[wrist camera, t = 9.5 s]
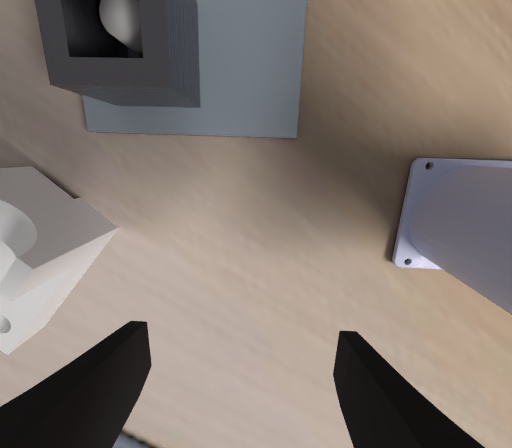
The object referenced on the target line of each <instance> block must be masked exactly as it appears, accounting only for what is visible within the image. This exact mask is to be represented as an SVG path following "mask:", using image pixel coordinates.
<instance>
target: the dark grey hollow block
mask: <svg viewBox="0 0 512 448" xmlns="http://www.w3.org/2000/svg"><path fill="white" fill-rule="evenodd" d="M138 1H139V11H140V23H141V35H142V47H143V58H129V57H128V47H127V46H126V45H124V44H123V43H122V42H120V41H119V40H118V39H117V38H115V37H114V36H113V35H111V34H110V33H109V32H108V31H107V30H106V29H105V27H104V25H103V24H102V21H101V18H100V13H99V6H100V2H101V0H35V4H36V9H37V15H38V20H39V25H40V31H41V36H42V42H43V47H44V53H45V58H46V64H47V69H48V75H49V80H50V85H53V86H56V87H59V88H63V89H66V90H69V91H72V92H75V93H78V94H81V95H85V96H88V97H91V98H94V99H97V100H100V101H103V102H107V103H110V104H113V105H116V106H144V107H183V108H201V105H200V71H199V37H198V4H197V2H196V0H138Z"/></svg>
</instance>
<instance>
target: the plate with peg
mask: <svg viewBox="0 0 512 448" xmlns="http://www.w3.org/2000/svg"><path fill="white" fill-rule="evenodd" d="M196 2H197V4H198V37H199V71H200V105H201V108H183V107H144V106H116V105H113V104H110V103H107V102H103V101H100V100H97V99H94V98H91V97H88V96H85V95H82V99H83V105H84V112H85V118H86V125H87V131H89V132H97V133H128V134H161V135H193V136H226V137H258V138H291V139H295V138H297V129H298V115H299V102H300V88H301V75H302V62H303V48H304V35H305V21H306V8H307V0H196ZM99 13H100V18H101V21H102V24H103V25H104V27H105V29H106V30H107V31H108V32H109V33H110V34H111V35H113V36H114V37H115V38H117V39H118V40H119V41H120V42H122V43H123V44H124V45H126V46H127V47H128V57H129V58H143V47H142V35H141V23H140V11H139V1H138V0H101V2H100V6H99Z"/></svg>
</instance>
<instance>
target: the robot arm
mask: <svg viewBox="0 0 512 448" xmlns="http://www.w3.org/2000/svg"><path fill="white" fill-rule="evenodd" d="M428 162H429V163H430V167H429V168H428V169H426V167H425V166H426V164H427V163H428ZM406 259H409V260H408V262H406V263H404V261H405V260H406ZM392 262H393V264H394V265H395V266H397V267H404V268H424V269H443V270H445V271H446V272H448V273H449V274H451V275H452V276H454V277H455V278H457V279H458V280H460V281H461V282H463V283H464V284H466V285H467V286H469V287H471V288H472V289H474V290H475V291H477V292H478V293H480V294H481V295H483V296H484V297H486V298H487V299H489V300H490V301H492V302H493V303H495V304H496V305H498V306H499V307H501V308H502V309H504V310H505V311H507V312H508V313H510V314H511V315H512V161H500V160H470V159H440V158H417V159H415V160H414V161H413V162H412V165H411V169H410V174H409V179H408V184H407V189H406V194H405V199H404V203H403V208H402V213H401V218H400V223H399V228H398V233H397V238H396V242H395V247H394V252H393V257H392ZM150 368H151V356H150V347H149V338H148V329H147V322H142V321H130V322H128V323H127V324H125V325H124V326H122V327H121V328H119V329H118V330H116V331H115V332H114V333H112V334H111V335H109V336H108V337H106V338H105V339H104V340H102V341H101V342H99V343H98V344H97V345H95V346H94V347H92V348H91V349H89V350H88V351H86V352H85V353H84V354H82V355H81V356H79V357H78V358H76V359H75V360H73V361H72V362H71V363H69V364H68V365H66V366H64V367H63V368H61V369H60V370H58V371H57V372H55V373H54V374H52V375H51V376H49V377H48V378H46V379H44V380H43V381H41V382H40V383H38V384H37V385H35V386H34V387H32V388H31V389H29V390H27V391H26V392H24V393H23V394H21V395H19V396H18V397H16V398H14V399H13V400H11V401H9V402H8V403H6V404H4V405H3V406H1V407H0V448H112V447H113V445H114V443H115V441H116V439H117V438H118V436H119V434H120V432H121V430H122V428H123V426H124V424H125V423H126V421H127V419H128V417H129V415H130V413H131V411H132V409H133V407H134V405H135V403H136V402H137V400H138V398H139V396H140V393H141V391H142V388H143V386H144V384H145V381H146V379H147V376H148V373H149V371H150ZM333 377H334V381H335V386H336V391H337V395H338V399H339V403H340V407H341V410H342V413H343V416H344V419H345V422H346V425H347V428H348V431H349V434H350V437H351V440H352V443H353V446H354V448H485V447H483V446H482V445H481V444H480V443H478V442H477V441H476V440H475V439H473V438H472V437H471V436H470V435H468V434H467V433H466V432H465V431H463V430H462V429H461V428H460V427H459V426H457V425H456V424H455V423H454V422H453V421H451V420H450V419H449V418H448V417H447V416H445V415H444V414H443V413H442V412H441V411H440V410H439V409H437V408H436V407H435V406H434V405H433V404H432V403H431V402H429V401H428V400H427V399H426V398H425V397H424V396H423V395H422V394H420V393H419V392H418V391H417V390H416V389H415V388H414V387H413V386H412V385H411V384H410V383H409V382H407V381H406V380H405V379H404V378H403V377H402V376H401V375H400V374H399V373H398V372H397V371H396V370H395V369H394V368H393V367H392V366H391V365H390V364H389V363H388V362H387V361H386V360H385V359H384V358H383V357H382V356H381V355H380V354H379V353H378V352H377V351H376V350H375V349H374V348H373V347H372V346H371V345H370V344H369V343H368V342H367V341H366V340H365V339H364V338H363V337H362V336H361V335H360V334H358V333H357V332H356V331H340V332H339V339H338V345H337V352H336V359H335V365H334V372H333Z"/></svg>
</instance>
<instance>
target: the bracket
mask: <svg viewBox="0 0 512 448" xmlns="http://www.w3.org/2000/svg"><path fill="white" fill-rule="evenodd" d="M118 228H119V227H118V226H117V225H115V224H114V223H113V222H112V221H110V220H109V219H108V218H106V217H105V216H104V215H103V214H101V213H100V212H99V211H97V210H96V209H95V208H94V207H92V206H91V205H90V204H89V203H87V202H86V201H85V200H83V199H82V198H77V199H73V198H72V197H71V196H70V195H68V194H67V193H66V192H64V191H63V190H62V189H61V188H59V187H58V186H57V185H55V184H54V183H53V182H52V181H50V180H49V179H48V178H46V177H45V176H44V175H43V174H41V173H40V172H39V171H37V170H36V169H35V168H34V167H32V166H31V167H12V168H0V351H2V352H4V353H5V354H7V355H8V354H9V353H11V352H12V351H13V350H14V349H16V348H17V347H18V346H20V345H21V344H22V343H24V342H25V341H26V340H27V339H29V338H30V337H31V336H33V335H34V334H35V333H37V332H38V331H39V330H40V329H42V328H43V327H44V326H45V325H46V324H47V322H48V321H49V320H50V318H51V317H52V316H53V314H54V313H55V312H56V310H57V309H58V308H59V306H60V305H61V304H62V302H63V301H64V300H65V298H66V297H67V296H68V294H69V293H70V292H71V290H72V289H73V288H74V286H75V285H76V284H77V282H78V281H79V280H80V278H81V277H82V276H83V274H84V273H85V272H86V270H87V269H88V268H89V266H90V265H91V264H92V262H93V261H94V260H95V259H96V257H97V256H98V255H99V253H100V252H101V251H102V249H103V248H104V247H105V245H106V244H107V243H108V241H109V240H110V239H111V237H112V236H113V235H114V233H115V232H116V231H117V229H118Z"/></svg>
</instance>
